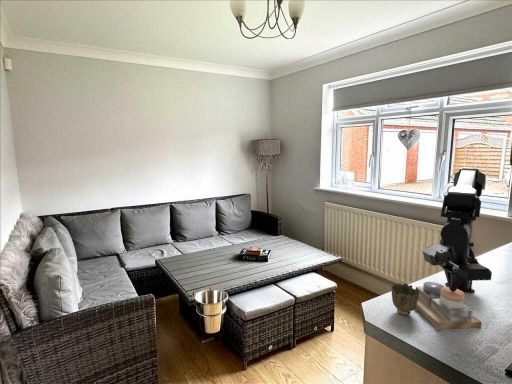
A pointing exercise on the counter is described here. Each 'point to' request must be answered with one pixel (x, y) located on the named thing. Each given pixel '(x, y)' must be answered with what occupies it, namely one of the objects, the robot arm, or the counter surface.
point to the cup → (404, 298)
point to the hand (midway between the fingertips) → (452, 290)
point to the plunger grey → (432, 288)
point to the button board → (445, 313)
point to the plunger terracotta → (452, 298)
